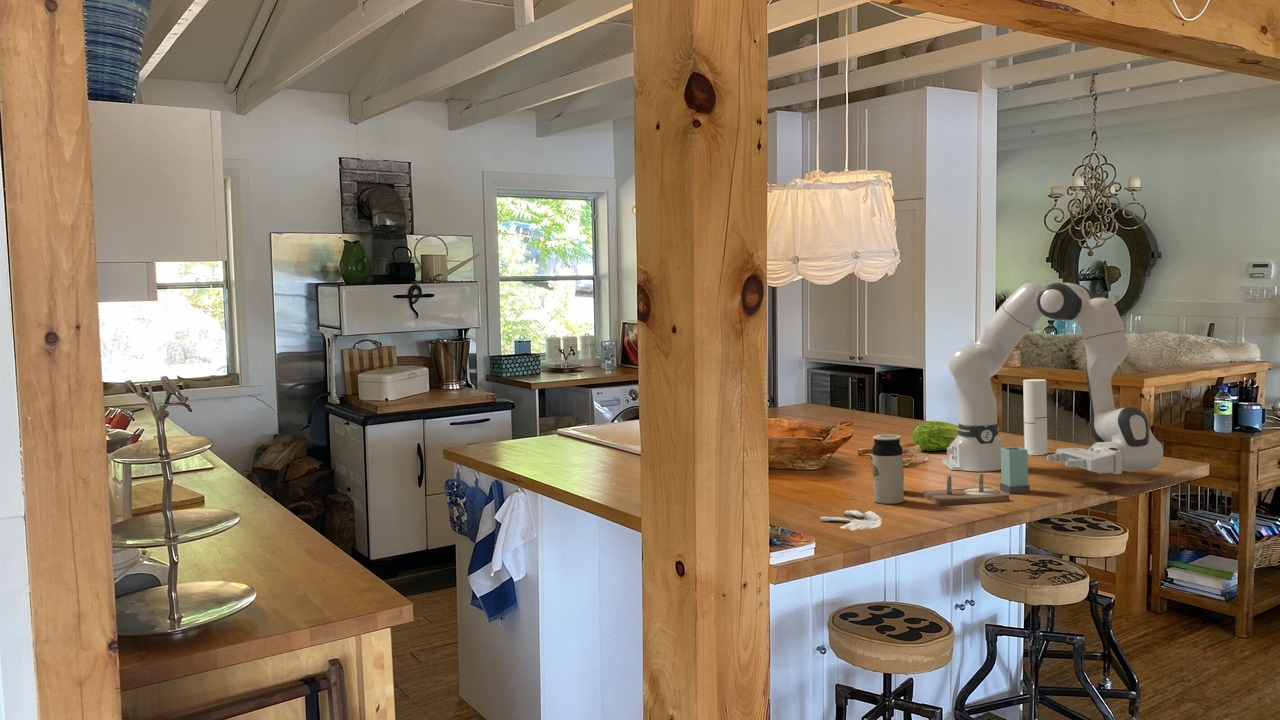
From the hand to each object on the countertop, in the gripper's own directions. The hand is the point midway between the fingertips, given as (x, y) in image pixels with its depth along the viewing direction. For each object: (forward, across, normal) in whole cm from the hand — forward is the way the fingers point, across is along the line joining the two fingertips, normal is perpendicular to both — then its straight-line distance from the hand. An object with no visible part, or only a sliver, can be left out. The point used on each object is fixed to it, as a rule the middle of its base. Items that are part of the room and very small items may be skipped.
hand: (1056, 461), depth 276 cm
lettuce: (+1, -73, +8) cm, 74 cm away
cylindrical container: (-22, -54, +8) cm, 59 cm away
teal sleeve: (+12, 0, +8) cm, 15 cm away
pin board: (+29, +5, +8) cm, 30 cm away
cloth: (+65, +19, +8) cm, 69 cm away
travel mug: (+49, +2, +8) cm, 50 cm away
